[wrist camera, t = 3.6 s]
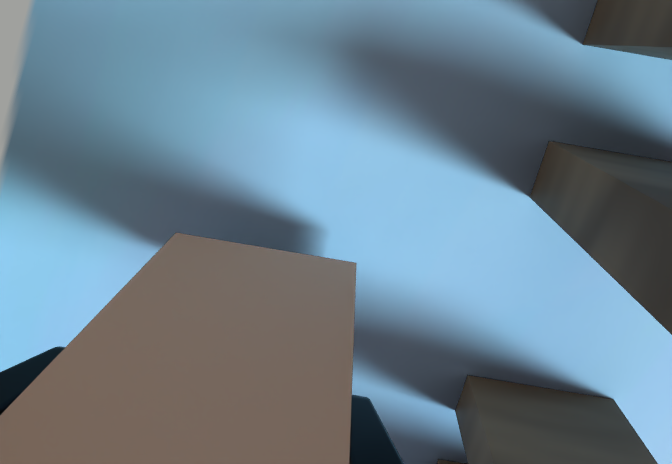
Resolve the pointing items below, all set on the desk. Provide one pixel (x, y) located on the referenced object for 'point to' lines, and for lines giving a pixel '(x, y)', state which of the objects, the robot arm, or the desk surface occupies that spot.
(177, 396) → the domino
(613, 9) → the domino
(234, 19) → the desk surface
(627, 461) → the domino
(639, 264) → the domino
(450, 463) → the domino
